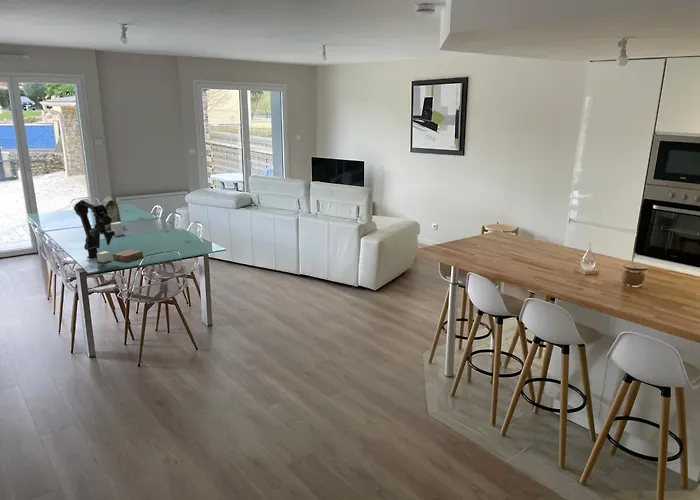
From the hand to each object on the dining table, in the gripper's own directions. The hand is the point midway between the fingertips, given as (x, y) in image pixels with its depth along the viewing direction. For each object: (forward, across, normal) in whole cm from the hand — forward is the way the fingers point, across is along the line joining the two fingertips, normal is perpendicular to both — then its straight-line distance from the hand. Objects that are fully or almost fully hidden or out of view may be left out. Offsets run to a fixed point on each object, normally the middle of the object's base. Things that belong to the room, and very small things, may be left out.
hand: (103, 244), depth 355 cm
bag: (+15, -87, +85) cm, 123 cm away
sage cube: (+12, -1, 0) cm, 12 cm away
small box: (+14, -56, +63) cm, 85 cm away
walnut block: (+12, +10, +11) cm, 19 cm away
